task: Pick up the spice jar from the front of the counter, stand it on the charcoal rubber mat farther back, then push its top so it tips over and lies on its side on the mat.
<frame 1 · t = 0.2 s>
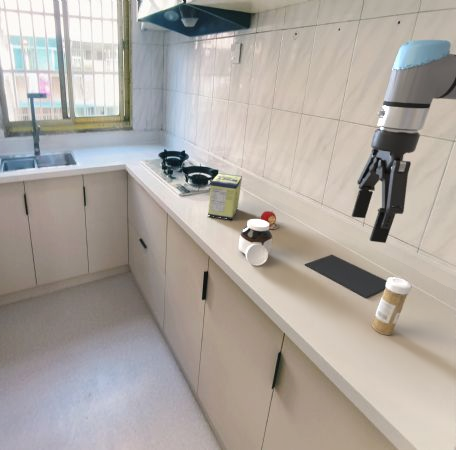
hand: (366, 228, 75), 25 cm above the worktop, tool pointing down, fingers open, 13 cm apart
spread jar: (254, 258, 112), on the worktop
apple: (267, 226, 136), on the worktop
mat: (347, 274, 104), on the worktop
spice jar: (381, 329, 81), on the worktop
protein box: (222, 213, 148), on the worktop
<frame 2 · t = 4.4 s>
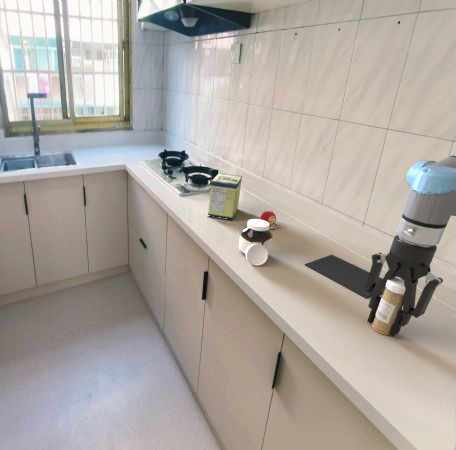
hand: (382, 326, 81), 1 cm above the worktop, tool pointing down, fingers closed on spice jar, 4 cm apart
spice jar: (381, 329, 81), on the worktop, touching gripper
everything else where it was.
when the fingers open (1 cm above the worktop, at t = 11.6 s): spice jar stays where it is, resting on mat.
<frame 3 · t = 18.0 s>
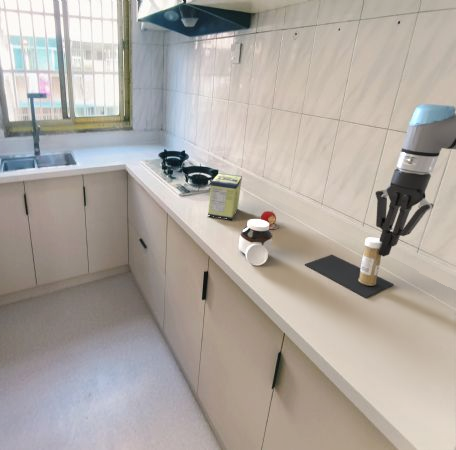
hand: (383, 254, 93), 11 cm above the worktop, tool pointing down, fingers closed
spice jar: (366, 283, 99), point 1 cm above the worktop, touching gripper, mat
everything else where it was.
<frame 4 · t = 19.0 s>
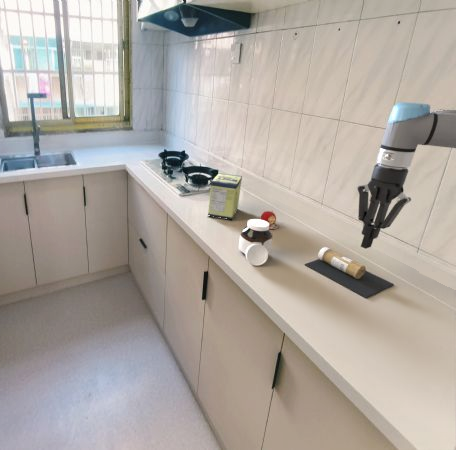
hand: (365, 246, 97), 11 cm above the worktop, tool pointing down, fingers closed
spice jar: (361, 273, 100), point 3 cm above the worktop, touching mat
everything else where it was.
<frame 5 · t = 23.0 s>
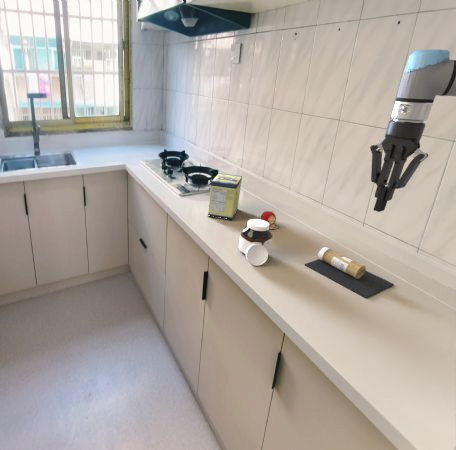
hand: (378, 210, 92), 22 cm above the worktop, tool pointing down, fingers closed
nothing on the worktop moved.
at the end: spice jar tilted 90°; spice jar inside the target area on the mat (3.9 cm from its centre), point 2.7 cm above the mat's base; the gripper is holding nothing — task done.
